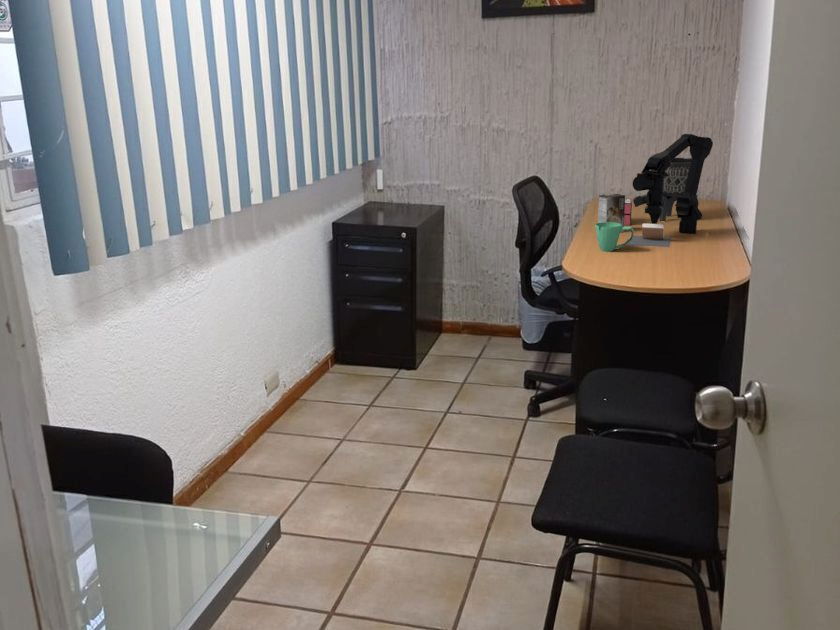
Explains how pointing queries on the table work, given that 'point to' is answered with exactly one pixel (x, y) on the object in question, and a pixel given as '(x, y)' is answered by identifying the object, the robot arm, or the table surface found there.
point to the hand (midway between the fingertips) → (653, 227)
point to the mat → (650, 241)
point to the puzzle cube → (627, 212)
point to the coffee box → (611, 208)
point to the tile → (653, 231)
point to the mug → (610, 235)
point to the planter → (674, 184)
